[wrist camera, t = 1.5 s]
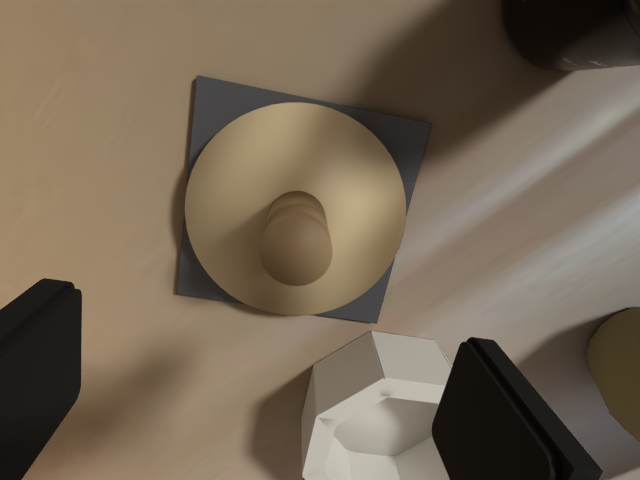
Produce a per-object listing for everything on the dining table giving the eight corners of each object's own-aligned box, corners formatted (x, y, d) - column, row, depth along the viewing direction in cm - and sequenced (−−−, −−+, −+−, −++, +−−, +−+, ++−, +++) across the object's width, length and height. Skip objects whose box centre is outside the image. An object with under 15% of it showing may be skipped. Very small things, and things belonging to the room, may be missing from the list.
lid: (426, 126, 21) (472, 139, 16) (374, 320, 25) (396, 385, 19) (200, 80, 20) (162, 75, 14) (180, 291, 24) (143, 352, 18)
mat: (429, 123, 22) (431, 123, 21) (375, 320, 26) (376, 323, 25) (198, 75, 20) (197, 75, 20) (178, 290, 24) (177, 293, 24)
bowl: (480, 346, 27) (514, 395, 22) (434, 467, 30) (457, 529, 26) (322, 323, 25) (327, 369, 21) (293, 452, 29) (292, 513, 25)
